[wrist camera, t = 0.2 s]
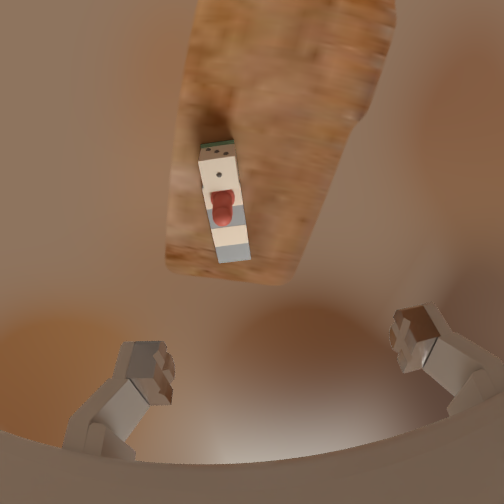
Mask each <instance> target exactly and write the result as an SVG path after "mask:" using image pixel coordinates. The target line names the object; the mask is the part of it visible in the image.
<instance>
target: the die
mask: <svg viewBox="0 0 504 504" xmlns="http://www.w3.org/2000/svg"><path fill="white" fill-rule="evenodd" d="M198 164H199V168H200V173H201V178H202V183H203V187H204V192H205V193H208V192H215V191H222V190H229V189H237V188H240V187H239V173H238V166H237V159H236V152H235V145H234V144H227V145H220V146H213V147H207V148H201V151H200V155H199V160H198Z"/></svg>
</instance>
